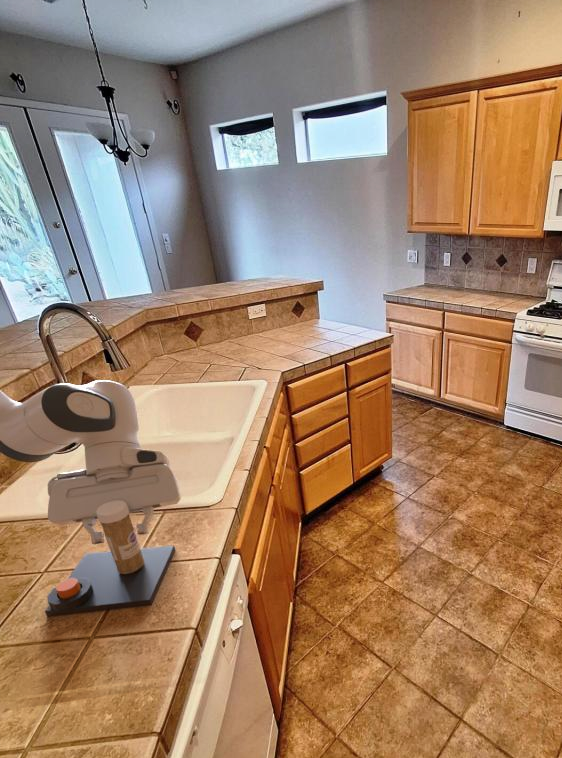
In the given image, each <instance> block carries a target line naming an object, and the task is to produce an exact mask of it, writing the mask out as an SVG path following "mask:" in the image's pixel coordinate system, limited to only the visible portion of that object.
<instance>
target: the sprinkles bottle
mask: <svg viewBox="0 0 562 758" xmlns="http://www.w3.org/2000/svg"><path fill="white" fill-rule="evenodd" d="M96 514H97V517H98V519H97V520H98V522H99V523H100V526H101V527H102V530H103V533H104V538H105V540H106V543H107V546H108V549H109V551H111V554H112V557H113V559H114V560H115V563H116V566H117V571H118V572H119V573H121V574H129V573H133V572H135V571H137V570H139V569H140V568H141V567H142V566H143V565H144V562H145V561H144V558H143V556H142V553H141V550H140V548H141V546H140V543H139V539H138V536H137V534H136V532H135V531H136V530H135V528H134V524H133V523H132V520H131V516H130V513H129V509H128V506H127V503H126V502H124V501H121V500H115V501H110V502H107V503H105V504H103V505H101V506H100V507H99V508H98V509H97V511H96Z"/></svg>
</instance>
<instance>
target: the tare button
mask: <svg viewBox="0 0 562 758" xmlns="http://www.w3.org/2000/svg"><path fill="white" fill-rule="evenodd" d="M68 578H69V577H68ZM68 578H66V579H63V580H62V581H60V582H59V583H58V584H57V585H56V586H55V587H56V591H57V593H58V595H59V597H60V598H61V599H67V598H70V597H72V596H74V595H76V594H77V593H79V591H80V590H81V587H80V585H79V582H78V580H77V579H75V578H69V579H68Z"/></svg>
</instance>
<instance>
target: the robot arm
mask: <svg viewBox="0 0 562 758" xmlns="http://www.w3.org/2000/svg"><path fill="white" fill-rule="evenodd" d="M137 409H138V408H137V405H136V401H135V399H134V397H133V394H132V392H131V391H130V389H129V388H128V387H127V386H126V385H124V384H122V383H119V382H116V381H113V380H107V379H105V380H104V379H103V380H102V379H101V380H94V381H91V382H89V383H87V384H82V385H76V384H72V383H64V382H63V383H56V384H53V385H51V386H49V387H45V389H43V390H41V391H39V392H37V393H35V394H33V395H32V396H31V397H29V398H28V399H26V400H25V401H22V402H18V401H15V400H13V399H12V398H10V397H9V396H8V395H7V394H6V393H5V392H3V391H2V389H0V453H1V455H3V456H5V457H7V458H9V459H12V460H13V461H17V462H22V463H39V462H42V461H45V460H46V459H48V458H49V459H50V457H52V456H53V455H55V454H56V453H57V452H59V451H61V450H62V449H63V448H66V447H68V446H70V445H71V444H73V443H75V444H76V443H77V444H82V445H83V447H84V460H85V461H84V462H85V469H80V470H79V469H78V470H74V471H70V472H60V473H57V474H56V476H54V477H52V478H50V480H48V482H47V495H48V497H49V498H48V504H47V505H48V506H47V519H48V521H49V522H51V523H52V524H54V525H56V526H67V525H68V526H69V525H73V524H78V523H81V524H82V527H83V528H84V529H85V530H86V531H87V532H88V533H89V535H90V541H91V542H90V543H91V544H92V545H99V544H103V543H104V544H105V533H104V532H102V531H97V530H96V529H95V528H94V526H96V525H97V520H98V517H97V514H96V511H97V509H98V508H99V507H100V506H101V505H103V504H105V503H107V502H110V501H115V500H121V501H124V502H126V503H127V506H128V509H129V514H131V513H132V514H133V513H137V512H142V514H143V515H144V518H143V520H142V522H141V523H138V524H136V529H137V535H139V536H142V535H148V534H149V533H150V528H149V525H150V523H151V521H152V519H153V517H154V515H155V510H154V509H158V508H162V507H163V508H164V507H169V506H173V505H178V503H179V502H180V501H181V499H182V495H181V494H182V493H181V490H180V485H179V482H178V479H177V477H176V475H175V472H174V471H173V470H172V469H171V467H170V466H171V463H170V460H169V458H168V456H167V455H166V454H164V453H163V452H162V451H160V450H153V449H145V448H144V449H143V448H142V445H141V442H140V440H139V437H138V435H139V434H138V433H139V430H140V423H139V416H138V410H137Z"/></svg>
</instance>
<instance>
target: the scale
mask: <svg viewBox="0 0 562 758" xmlns="http://www.w3.org/2000/svg"><path fill="white" fill-rule="evenodd" d="M140 550H141V553H142V556H143V558H144V561H145V562H144V565H143V566H142V567H141V568H140V569H139V570H137V571H135V572H133V573H129V574H121V573H119V572H118V571H117V566H116V563H115V560H114V559H113V557H112V554H111V551H110V550H108V551H99V552H86V553H85V554H84V555H83V557H82V558H81V559H80V561H79V562H78V563H77V565H76V566H75V567H74V569H73V570H72V572H71V573H70V575H69V576H68V578H67V579H69V578H75V579H77V580H78V582H79V585H80V587H81V590H80V591H79V593H77V594H76V595H74V596H72V597H70V598H67V599H61V598H60V597H59V595H58V593H57V591H56V586H55V587H54V588H52V590H51V591H50V592H49V593H48V594H47V596H46V597H47V603H48V606H47V607H46V609H45V610H44V613H45V616H46V617H47V618H53V617H61V616H70V615H78V614H79V615H81V614H88V613H97V612H98V613H99V612H105V611H114V610H123V609H132V608H141V607H150V606H153V603H154V601H155V599H156V596H157V595H158V592H159V590H160V587H161V585H162V583H163V581H164V578H165V576H166V573H167V572H168V569H169V567H170V565H171V562H172V560H173V558H174V556H175V553H176V551H177V550H176V547H175V545H164V546H154V547H151V546H150V547H140Z"/></svg>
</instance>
